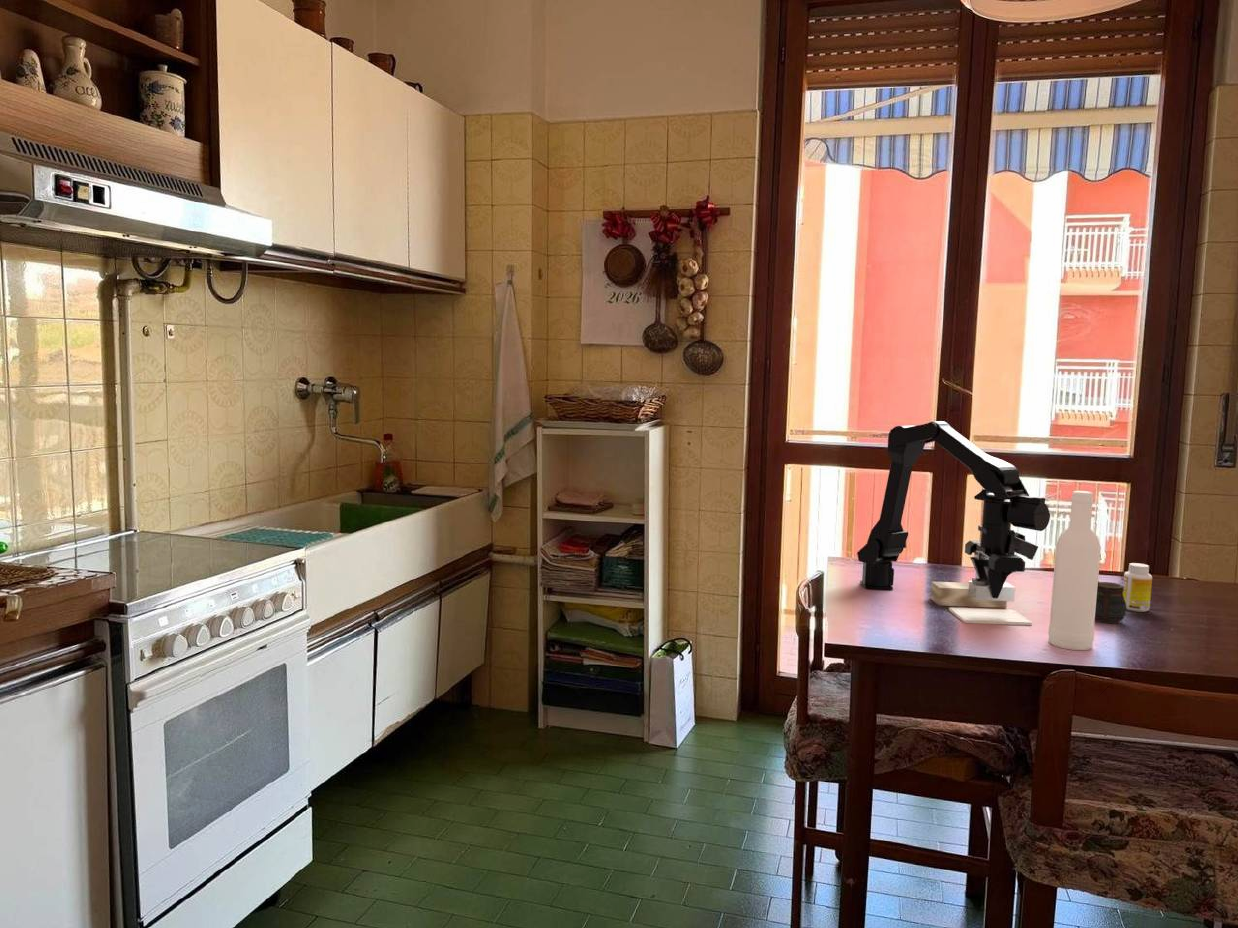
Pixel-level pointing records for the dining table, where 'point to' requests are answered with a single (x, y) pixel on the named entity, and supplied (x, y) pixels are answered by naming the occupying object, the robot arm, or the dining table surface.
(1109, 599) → the mate gourd
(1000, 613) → the board
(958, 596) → the body
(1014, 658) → the dining table surface
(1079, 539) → the bottle
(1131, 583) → the supplement bottle
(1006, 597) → the lever cap
